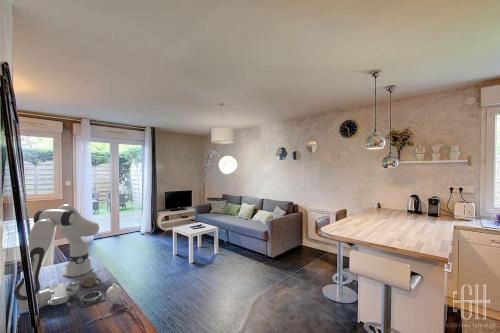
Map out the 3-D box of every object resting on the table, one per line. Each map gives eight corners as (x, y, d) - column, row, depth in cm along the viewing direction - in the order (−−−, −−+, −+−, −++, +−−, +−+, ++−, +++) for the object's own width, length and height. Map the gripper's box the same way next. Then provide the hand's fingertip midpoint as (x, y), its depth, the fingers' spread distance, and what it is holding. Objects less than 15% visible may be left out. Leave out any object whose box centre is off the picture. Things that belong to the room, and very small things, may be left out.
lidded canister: (67, 298, 142) (68, 282, 142) (78, 295, 145) (78, 279, 146) (68, 301, 138) (69, 285, 138) (79, 298, 142) (80, 282, 142)
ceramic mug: (82, 289, 152) (83, 277, 152) (83, 283, 159) (84, 272, 159) (101, 285, 158) (101, 274, 158) (101, 280, 165) (102, 269, 165)
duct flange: (78, 299, 141) (78, 294, 141) (100, 292, 149) (101, 288, 149) (81, 308, 132) (81, 303, 132) (105, 300, 141) (105, 296, 141)
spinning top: (107, 301, 140) (107, 281, 140) (121, 298, 143) (122, 279, 143) (104, 308, 133) (105, 288, 133) (119, 305, 136) (120, 285, 136)
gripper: (47, 299, 125) (78, 290, 135) (45, 285, 140) (73, 278, 150) (46, 310, 125) (77, 301, 135) (45, 295, 140) (73, 287, 150)
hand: (75, 288), depth 142 cm, fingers closed on lidded canister, 5 cm apart
